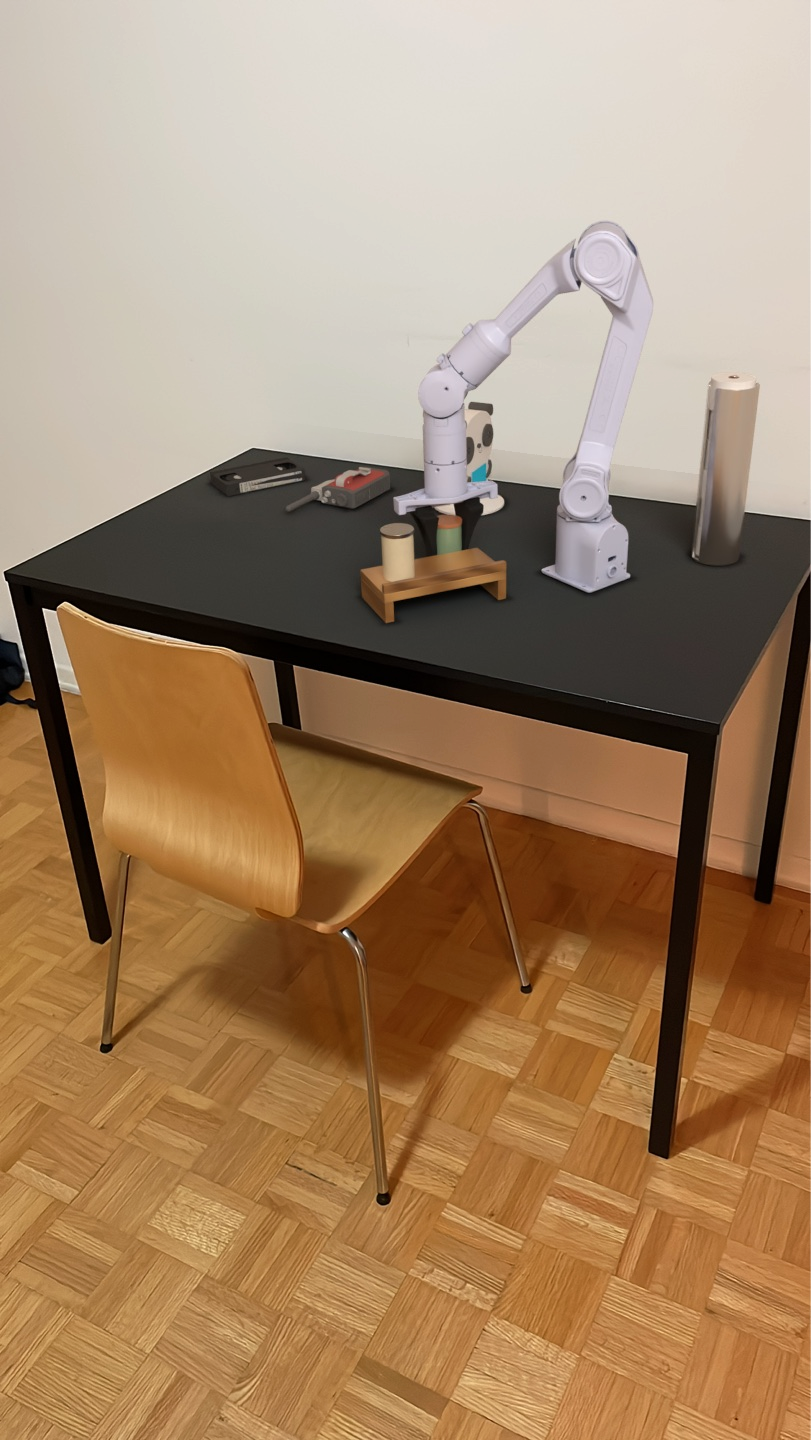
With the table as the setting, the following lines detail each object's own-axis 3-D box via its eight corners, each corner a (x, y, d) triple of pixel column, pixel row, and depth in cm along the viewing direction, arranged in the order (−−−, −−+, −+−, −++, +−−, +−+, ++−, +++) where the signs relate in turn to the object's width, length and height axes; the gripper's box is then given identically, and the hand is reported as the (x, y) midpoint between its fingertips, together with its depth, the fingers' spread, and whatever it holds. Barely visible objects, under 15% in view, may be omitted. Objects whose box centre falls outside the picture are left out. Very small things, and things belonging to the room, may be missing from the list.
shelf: (477, 574, 157) (477, 538, 154) (506, 598, 149) (506, 561, 147) (361, 597, 152) (359, 560, 149) (385, 623, 144) (383, 585, 142)
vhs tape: (227, 496, 189) (226, 484, 188) (211, 483, 195) (209, 472, 194) (306, 480, 194) (305, 468, 193) (287, 468, 200) (286, 457, 199)
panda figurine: (483, 521, 174) (483, 424, 166) (418, 511, 179) (415, 416, 171) (515, 497, 183) (516, 404, 175) (452, 488, 188) (451, 397, 180)
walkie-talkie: (354, 479, 194) (282, 516, 179) (352, 454, 191) (279, 489, 177) (397, 487, 189) (327, 525, 175) (396, 461, 187) (324, 498, 173)
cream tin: (422, 576, 147) (420, 529, 143) (395, 586, 144) (393, 537, 141) (402, 567, 150) (400, 520, 146) (375, 576, 147) (373, 528, 144)
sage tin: (469, 564, 158) (468, 520, 154) (445, 572, 156) (443, 527, 152) (449, 555, 161) (448, 512, 157) (425, 563, 159) (424, 519, 155)
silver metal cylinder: (740, 567, 155) (762, 382, 143) (691, 565, 157) (709, 381, 144) (737, 549, 161) (759, 370, 148) (690, 547, 162) (708, 369, 149)
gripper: (482, 442, 156) (482, 536, 163) (383, 458, 152) (388, 554, 158) (504, 456, 150) (504, 552, 157) (402, 473, 146) (407, 571, 153)
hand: (447, 554), depth 157 cm, fingers closed on sage tin, 4 cm apart
